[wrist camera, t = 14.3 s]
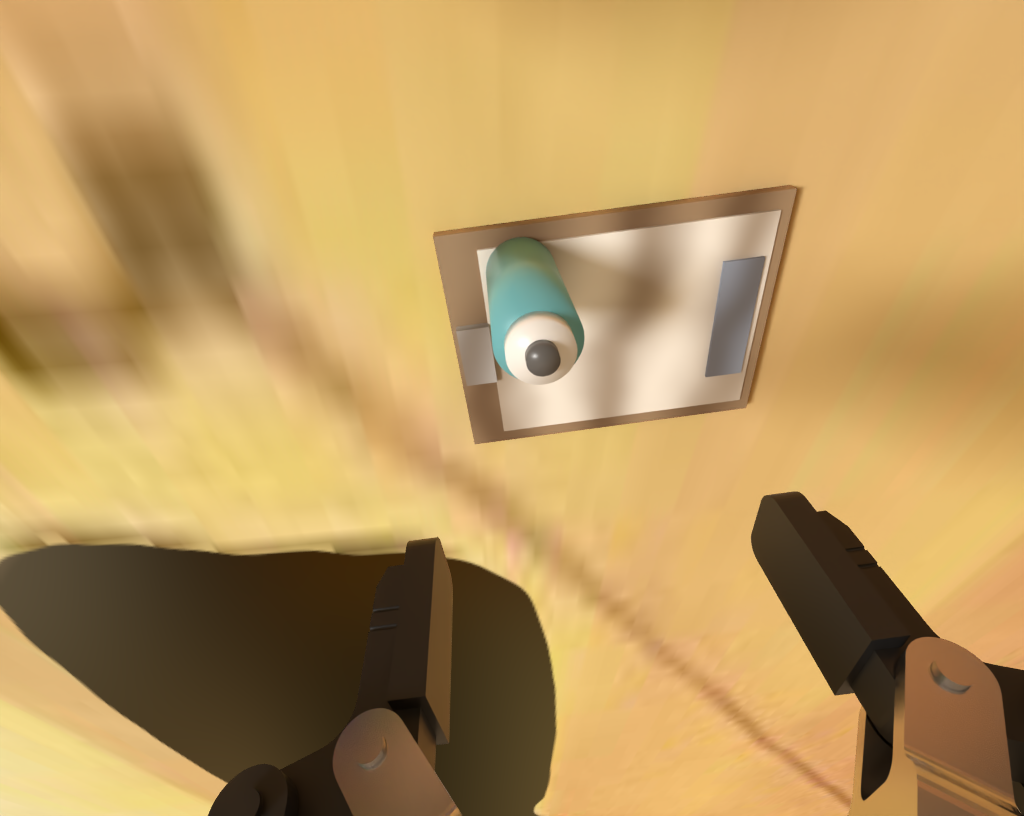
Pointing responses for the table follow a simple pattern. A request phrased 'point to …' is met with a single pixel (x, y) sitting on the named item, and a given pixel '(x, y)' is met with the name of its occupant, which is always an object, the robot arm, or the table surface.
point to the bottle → (531, 313)
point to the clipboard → (628, 311)
